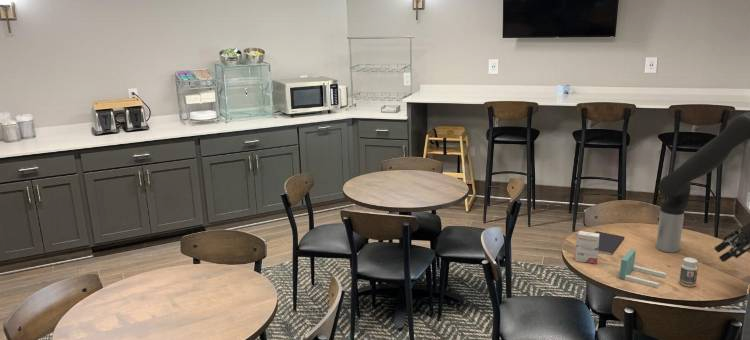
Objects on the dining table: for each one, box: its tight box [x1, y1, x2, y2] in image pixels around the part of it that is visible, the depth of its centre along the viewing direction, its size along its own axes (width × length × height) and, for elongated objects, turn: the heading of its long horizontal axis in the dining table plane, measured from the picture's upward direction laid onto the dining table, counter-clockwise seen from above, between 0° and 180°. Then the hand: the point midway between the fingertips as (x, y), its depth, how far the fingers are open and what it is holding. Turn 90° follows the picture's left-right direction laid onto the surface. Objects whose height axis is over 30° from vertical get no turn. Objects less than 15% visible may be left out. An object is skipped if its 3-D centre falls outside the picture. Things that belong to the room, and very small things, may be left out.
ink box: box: [574, 230, 600, 265], centre depth 248 cm, size 9×5×12 cm, turn 65°
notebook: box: [594, 230, 626, 256], centre depth 266 cm, size 13×2×21 cm
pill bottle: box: [678, 257, 699, 288], centre depth 226 cm, size 6×6×10 cm
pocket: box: [619, 248, 667, 289], centre depth 232 cm, size 14×12×8 cm
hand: (718, 255), depth 221 cm, fingers open, 8 cm apart
